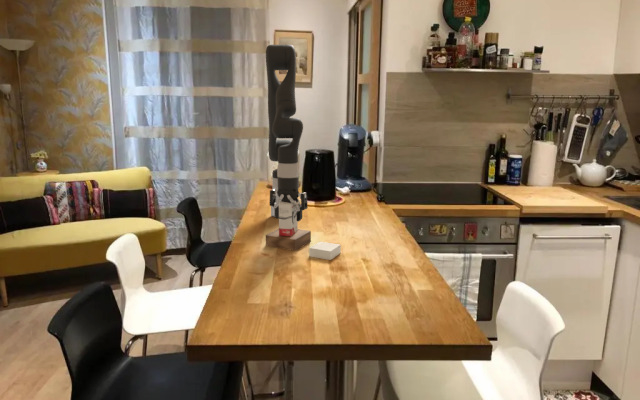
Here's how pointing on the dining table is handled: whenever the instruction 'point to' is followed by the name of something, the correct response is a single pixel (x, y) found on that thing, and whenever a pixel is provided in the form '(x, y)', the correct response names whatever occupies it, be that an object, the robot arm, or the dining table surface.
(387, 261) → the dining table surface
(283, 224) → the ink box
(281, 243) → the walnut slab
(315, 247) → the white square block
